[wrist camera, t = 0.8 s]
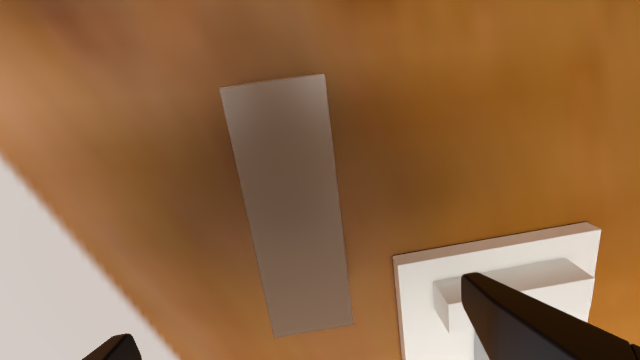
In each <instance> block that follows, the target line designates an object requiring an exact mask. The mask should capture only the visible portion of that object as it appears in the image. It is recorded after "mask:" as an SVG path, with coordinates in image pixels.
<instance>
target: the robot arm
mask: <svg viewBox="0 0 640 360" xmlns="http://www.w3.org/2000/svg"><path fill="white" fill-rule="evenodd" d="M461 301H462V305H463V308H464V310H465V312H466V314H467V316H468V318H469V320H470V322H471V324H472V326H473V328H474V330H475V332H476V334H477V336H478V338H479V340H480V342H481V344H482V346H483V348H484V350H485V352H486V354H487V356H488V357H489V359H490V360H640V347H639V346H637V345H635V344H630V343H629V342H628V341H626V340H624V339H622V338H619V337H617V336H615V335H613V334H611V333H609V332H606V331H604V330H602V329H600V328H598V327H596V326H593V325H591V324H589V323H587V322H585V321H583V320H580V319H578V318H576V317H574V316H572V315H570V314H567V313H565V312H563V311H561V310H559V309H557V308H554V307H552V306H550V305H548V304H546V303H544V302H541V301H539V300H537V299H535V298H533V297H531V296H528V295H526V294H524V293H522V292H520V291H518V290H515V289H513V288H511V287H509V286H507V285H505V284H503V283H500V282H498V281H496V280H494V279H492V278H490V277H487V276H485V275H483V274H481V273H478V272H472V273H467V274H463V275H462V277H461ZM82 360H142V358H141V355H140V352H139V350H138V348H137V345H136V343H135V341H134V339H133V337H132V335H131V334H121V335H116V336H113V337H111V338H110V339H108V340H107V341H106V342H104V343H103V344H102V345H101V346H99V347H98V348H97V349H95V350H94V351H93V352H91V353H90V354H89V355H87V356H86V357H85V358H83V359H82Z"/></svg>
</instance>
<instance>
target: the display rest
mask: <svg viewBox="0 0 640 360" xmlns="http://www.w3.org/2000/svg"><path fill="white" fill-rule="evenodd" d="M600 234H601V229H599V228H597V227H595V226H594V225H592V224H590V223H588V222H583V223H577V224H572V225H566V226H560V227H555V228H549V229H543V230H538V231H532V232H526V233H521V234H515V235H509V236H504V237H498V238H492V239H487V240H481V241H475V242H470V243H464V244H458V245H453V246H447V247H441V248H436V249H430V250H424V251H419V252H413V253H407V254H402V255H396V256H393V266H394V277H395V288H396V299H397V310H398V321H399V332H400V343H401V354H402V360H490V359H489V357H488V356H487V354H486V352H485V350H484V348H483V346H482V344H481V342H480V340H479V338H478V336H477V334H476V332H475V330H474V328H473V326H472V324H471V322H470V320H469V318H468V316H467V314H466V312H465V310H464V308H463V305H462V301H461V277H462V275H463V274H467V273H472V272H478V273H481V274H483V275H485V276H487V277H490V278H492V279H494V280H496V281H498V282H500V283H503V284H505V285H507V286H509V287H511V288H513V289H515V290H518V291H520V292H522V293H524V294H526V295H528V296H531V297H533V298H535V299H537V300H539V301H541V302H544V303H546V304H548V305H550V306H552V307H554V308H557V309H559V310H561V311H563V312H565V313H567V314H570V315H572V316H574V317H576V318H578V319H580V320H583V321H585V322H588V315H589V309H590V308H591V301H592V294H593V287H594V281H595V278H594V275H595V268H596V261H597V255H598V248H599V241H600Z"/></svg>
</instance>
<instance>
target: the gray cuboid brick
mask: <svg viewBox="0 0 640 360" xmlns="http://www.w3.org/2000/svg"><path fill="white" fill-rule="evenodd" d="M219 90H220V94H221V99H222V103H223V108H224V112H225V117H226V122H227V126H228V131H229V135H230V140H231V144H232V149H233V153H234V158H235V163H236V167H237V172H238V176H239V181H240V185H241V190H242V194H243V199H244V204H245V208H246V213H247V217H248V222H249V226H250V231H251V235H252V240H253V245H254V249H255V254H256V258H257V263H258V267H259V272H260V276H261V281H262V285H263V290H264V295H265V299H266V304H267V308H268V313H269V317H270V322H271V326H272V331H273V336H274V338H276V337H283V336H289V335H295V334H301V333H307V332H314V331H320V330H326V329H332V328H338V327H345V326H351V325H354V323H353V314H352V306H351V297H350V288H349V280H348V271H347V263H346V254H345V245H344V237H343V228H342V219H341V211H340V202H339V194H338V185H337V176H336V168H335V159H334V150H333V142H332V133H331V125H330V116H329V107H328V99H327V90H326V81H325V74H320V73H316V74H309V75H301V76H294V77H286V78H279V79H272V80H264V81H257V82H249V83H242V84H235V85H230V86H226V87H221V88H219Z"/></svg>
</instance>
